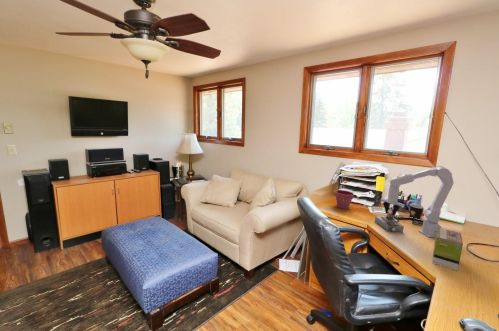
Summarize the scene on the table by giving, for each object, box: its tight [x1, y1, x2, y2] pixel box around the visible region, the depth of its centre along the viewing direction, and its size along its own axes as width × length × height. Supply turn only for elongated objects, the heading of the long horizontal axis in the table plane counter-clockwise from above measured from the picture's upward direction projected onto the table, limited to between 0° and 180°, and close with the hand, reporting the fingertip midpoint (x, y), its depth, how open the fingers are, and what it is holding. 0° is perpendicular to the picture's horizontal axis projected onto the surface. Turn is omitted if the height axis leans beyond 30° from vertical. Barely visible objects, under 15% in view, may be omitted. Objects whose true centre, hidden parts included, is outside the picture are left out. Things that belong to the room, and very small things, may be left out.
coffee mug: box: [404, 203, 425, 220], centre depth 174 cm, size 12×9×10 cm
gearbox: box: [374, 215, 404, 233], centre depth 157 cm, size 18×10×6 cm, turn 179°
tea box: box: [431, 227, 464, 272], centre depth 118 cm, size 15×10×15 cm
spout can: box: [386, 206, 395, 218], centre depth 158 cm, size 4×4×7 cm
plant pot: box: [334, 189, 355, 210], centre depth 193 cm, size 14×14×13 cm
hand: (390, 214), depth 158 cm, fingers closed on spout can, 4 cm apart
